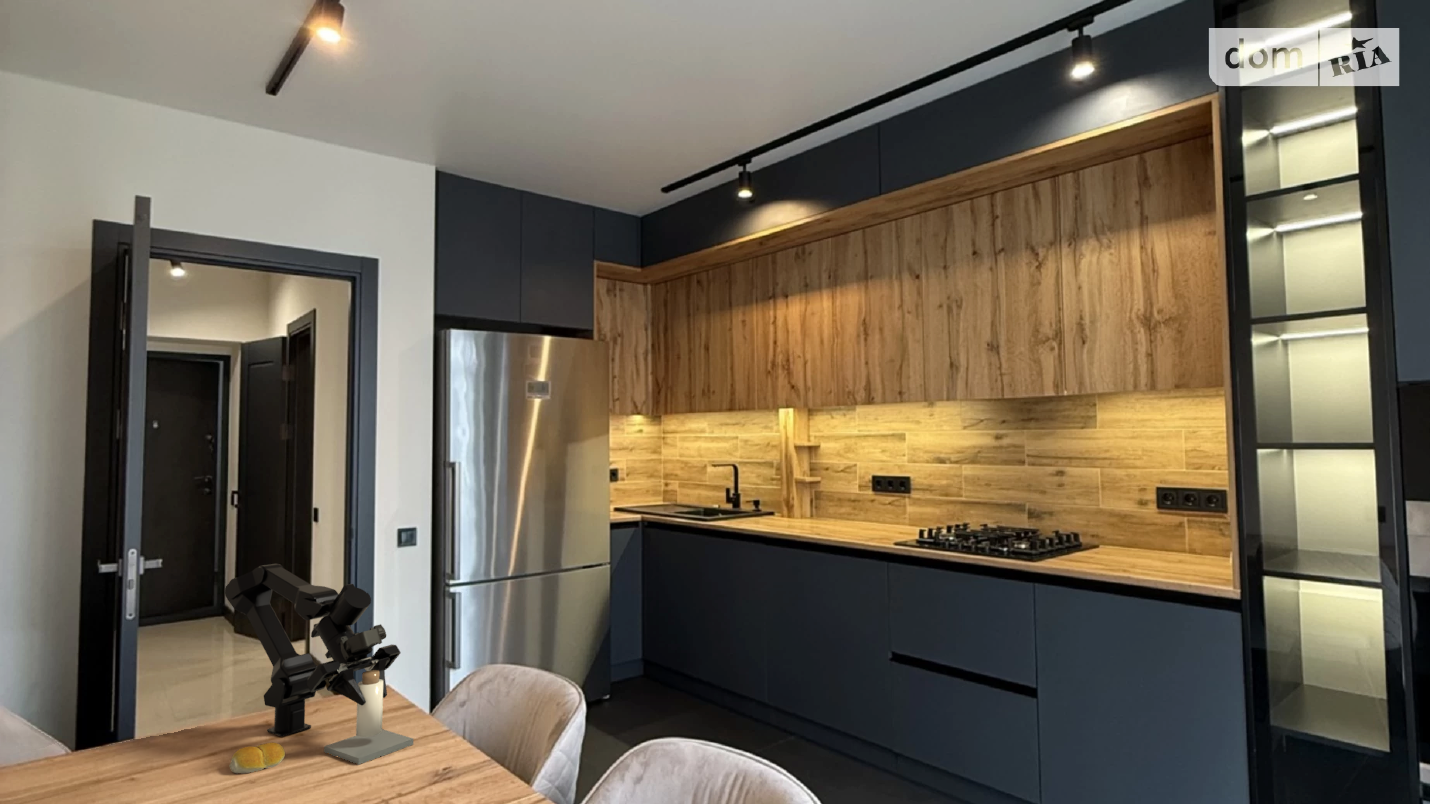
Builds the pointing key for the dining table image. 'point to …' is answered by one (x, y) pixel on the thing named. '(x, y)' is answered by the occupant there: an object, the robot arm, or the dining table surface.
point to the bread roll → (257, 758)
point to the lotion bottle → (370, 705)
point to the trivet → (368, 746)
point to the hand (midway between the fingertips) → (374, 700)
